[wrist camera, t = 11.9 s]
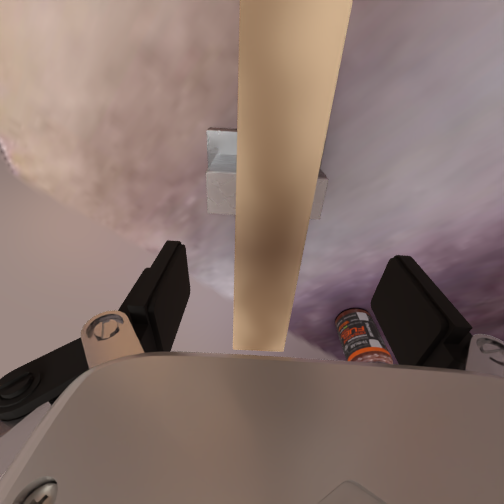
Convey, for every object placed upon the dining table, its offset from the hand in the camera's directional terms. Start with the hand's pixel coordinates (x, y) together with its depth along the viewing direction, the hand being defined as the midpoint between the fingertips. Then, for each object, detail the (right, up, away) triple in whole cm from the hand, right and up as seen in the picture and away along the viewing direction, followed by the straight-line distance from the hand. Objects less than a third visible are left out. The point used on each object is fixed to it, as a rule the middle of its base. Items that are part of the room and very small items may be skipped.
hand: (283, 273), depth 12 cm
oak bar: (0, +6, +9) cm, 11 cm away
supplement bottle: (+15, -10, +31) cm, 36 cm away
